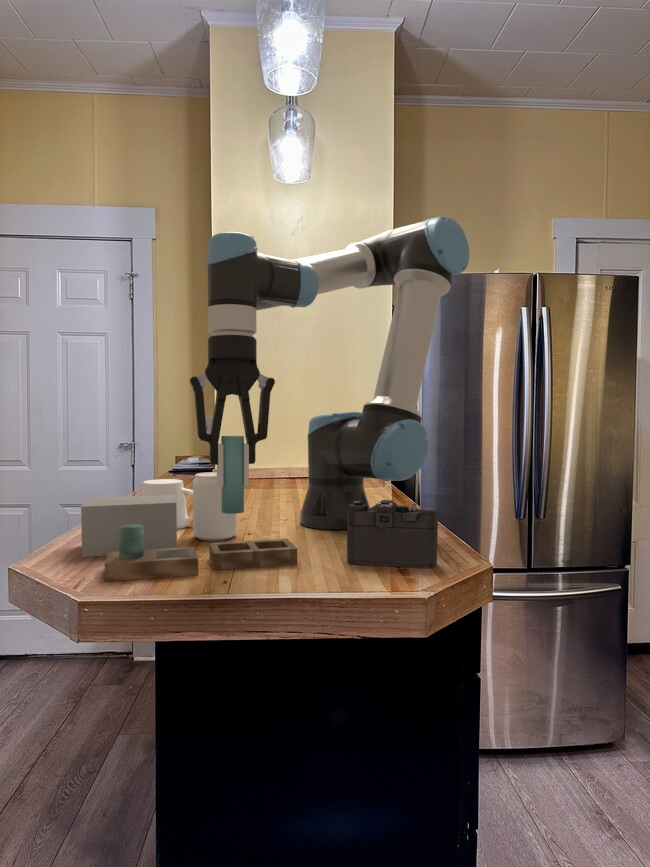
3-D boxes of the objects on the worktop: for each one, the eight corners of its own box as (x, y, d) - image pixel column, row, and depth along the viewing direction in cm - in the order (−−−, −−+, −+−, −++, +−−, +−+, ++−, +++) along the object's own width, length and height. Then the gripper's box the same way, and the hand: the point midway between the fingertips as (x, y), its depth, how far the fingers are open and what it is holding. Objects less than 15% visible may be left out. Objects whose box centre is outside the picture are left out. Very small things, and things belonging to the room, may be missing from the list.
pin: (242, 509, 101) (242, 435, 100) (245, 513, 98) (245, 436, 97) (220, 510, 100) (220, 435, 99) (222, 514, 97) (222, 436, 96)
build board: (287, 553, 105) (287, 538, 105) (297, 564, 98) (297, 548, 98) (209, 558, 102) (209, 543, 102) (213, 570, 95) (213, 553, 95)
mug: (133, 483, 125) (146, 478, 132) (133, 530, 125) (147, 522, 133) (192, 484, 124) (202, 479, 132) (193, 530, 124) (203, 523, 132)
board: (194, 562, 99) (194, 518, 99) (198, 574, 92) (197, 527, 92) (108, 568, 96) (107, 522, 96) (105, 581, 89) (104, 532, 88)
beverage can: (227, 542, 113) (227, 477, 113) (186, 540, 115) (185, 476, 115) (242, 533, 121) (242, 472, 121) (203, 531, 123) (202, 471, 122)
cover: (174, 539, 116) (174, 494, 116) (176, 551, 107) (176, 502, 106) (87, 544, 112) (87, 497, 112) (82, 557, 103) (81, 506, 102)
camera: (437, 553, 106) (437, 495, 105) (437, 570, 95) (438, 505, 95) (353, 550, 108) (353, 493, 108) (344, 566, 98) (345, 503, 97)
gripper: (278, 340, 103) (278, 480, 104) (177, 336, 99) (178, 483, 100) (288, 335, 96) (288, 486, 97) (179, 331, 92) (180, 489, 93)
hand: (232, 484), depth 99 cm, fingers closed on pin, 3 cm apart
